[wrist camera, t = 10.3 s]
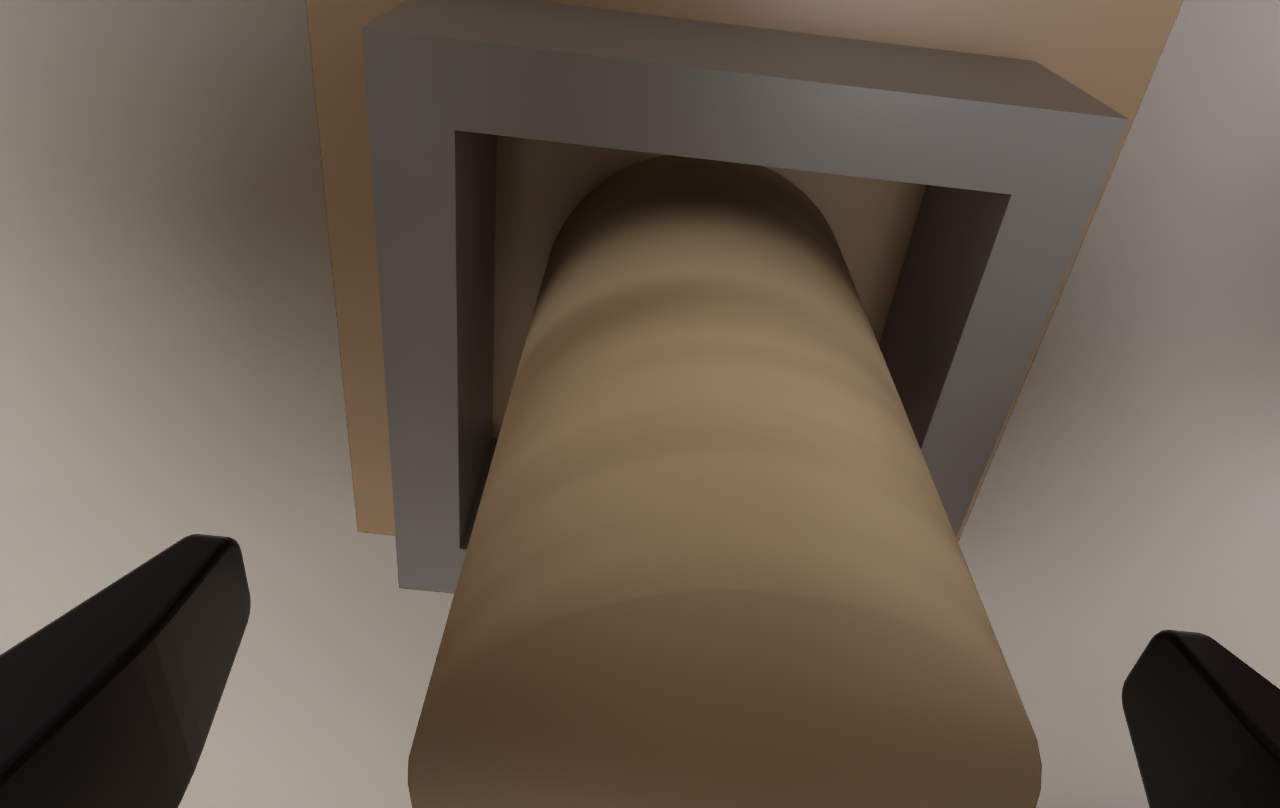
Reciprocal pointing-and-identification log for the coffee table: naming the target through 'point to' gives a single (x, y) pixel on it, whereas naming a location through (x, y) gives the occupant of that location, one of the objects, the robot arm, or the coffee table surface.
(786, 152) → the sleeve socket
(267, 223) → the coffee table surface
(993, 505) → the coffee table surface
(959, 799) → the maple peg
